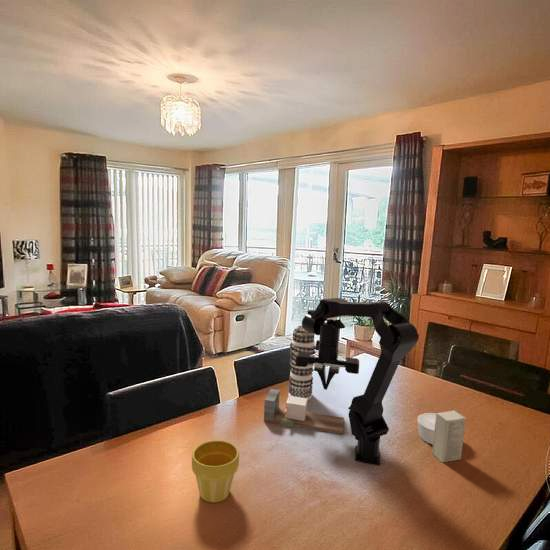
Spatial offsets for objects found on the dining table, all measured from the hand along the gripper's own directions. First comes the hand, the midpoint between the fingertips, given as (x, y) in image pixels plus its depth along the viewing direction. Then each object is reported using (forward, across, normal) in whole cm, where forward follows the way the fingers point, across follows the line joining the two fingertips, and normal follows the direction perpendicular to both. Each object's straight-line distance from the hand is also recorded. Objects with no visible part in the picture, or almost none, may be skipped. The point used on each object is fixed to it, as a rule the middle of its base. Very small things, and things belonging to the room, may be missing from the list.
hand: (325, 389), depth 116 cm
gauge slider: (+10, +9, +2) cm, 13 cm away
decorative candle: (+12, +10, -17) cm, 23 cm away
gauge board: (+11, +6, 0) cm, 13 cm away
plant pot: (+11, +21, +37) cm, 44 cm away
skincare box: (+11, -34, +7) cm, 37 cm away
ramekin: (+12, -33, -2) cm, 35 cm away
